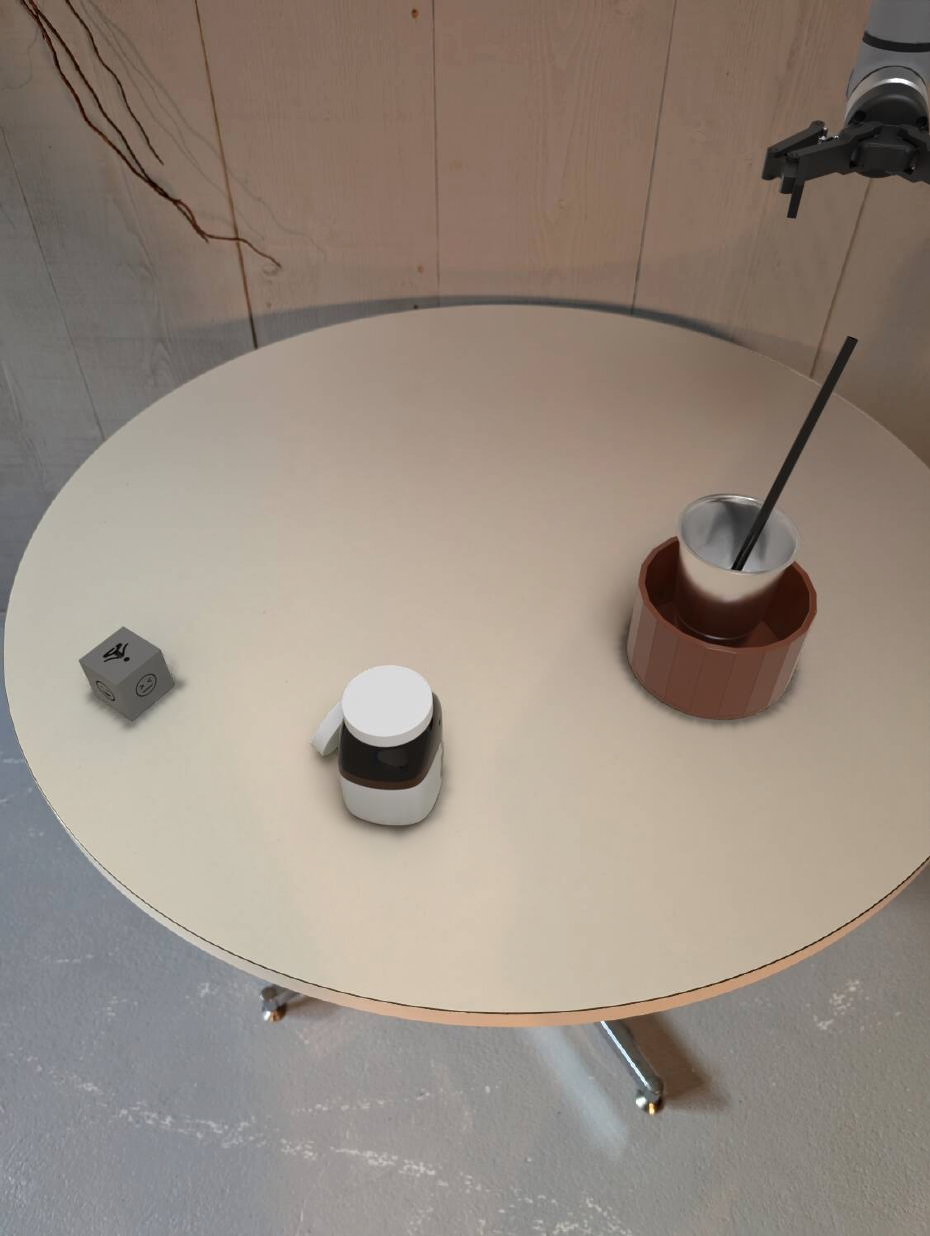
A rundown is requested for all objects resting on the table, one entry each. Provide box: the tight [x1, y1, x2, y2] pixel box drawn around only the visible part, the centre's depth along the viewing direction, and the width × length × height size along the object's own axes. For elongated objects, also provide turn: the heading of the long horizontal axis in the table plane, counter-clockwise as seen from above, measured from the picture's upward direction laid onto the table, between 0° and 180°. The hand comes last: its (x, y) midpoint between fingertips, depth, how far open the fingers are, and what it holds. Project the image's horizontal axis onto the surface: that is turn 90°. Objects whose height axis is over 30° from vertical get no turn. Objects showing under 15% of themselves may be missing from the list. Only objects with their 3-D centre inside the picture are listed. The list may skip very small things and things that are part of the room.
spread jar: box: [310, 664, 445, 827], centre depth 73 cm, size 12×11×12 cm
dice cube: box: [78, 625, 175, 722], centre depth 82 cm, size 5×5×5 cm
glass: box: [673, 335, 859, 648], centre depth 75 cm, size 11×11×30 cm
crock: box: [626, 535, 818, 720], centre depth 83 cm, size 15×15×9 cm
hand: (881, 211), depth 73 cm, fingers open, 13 cm apart
